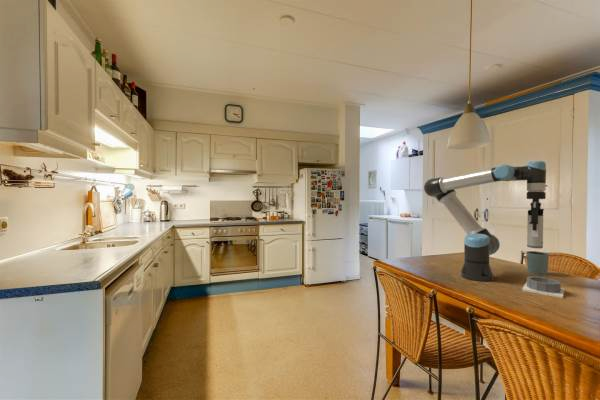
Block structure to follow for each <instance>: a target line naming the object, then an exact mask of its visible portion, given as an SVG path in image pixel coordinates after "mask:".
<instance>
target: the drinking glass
mask: <svg viewBox="0 0 600 400" xmlns="http://www.w3.org/2000/svg"><path fill="white" fill-rule="evenodd" d="M525 252H526V253H525V255H526V265H527V273H528V274H531V275H536V276H547V275H548V267H549V257H550V254H549V253H548V252H544V251H538V250H537V251H535V250H529V251H525Z"/></svg>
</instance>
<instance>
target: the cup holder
mask: <svg viewBox="0 0 600 400" xmlns="http://www.w3.org/2000/svg"><path fill="white" fill-rule="evenodd" d="M561 285H562V283H561V281H559V280H557V279H554V278H550V277H544V276H543V277H542V276H532V275H531V276H527V277H526V282H525V283H524V285H523V286H522V289H521V290H522V291H523V292H529V293H532V294H533V293H534V294H539V295H544V296H548V295H549V296H550V297H555V298H559V299H564V294H565V288H562V286H561Z"/></svg>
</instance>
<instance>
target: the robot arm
mask: <svg viewBox="0 0 600 400" xmlns="http://www.w3.org/2000/svg"><path fill="white" fill-rule="evenodd" d="M546 165H547V164H546V162H545V161H542V160H538V161H537V160H533V161H528V162H527V163H526V165H523V166H522V165H521V166H513V165H509V164H500V165H498V166H495V167H490V168H486V169H482V170H481V169H480V170H478V171H477V170H476V171H473V172H472V171H471V172H468V173H467V172H466V173H463V174H458V175H454V176H448V177H443V176H441V177H440V176H439V177H436V178H431V179H428V180H427V181H425V183H424V186H423V190H424V192H425V194H426V195H427V196H429V197H430V198H431V197H432V198H435V199H436V200H437V201H438V203H439V204H443V205H444V206H445V208H446V209H447V210H448V211H449V213H450V214H451V215H452V217H453V218H454V219H455V220H456V222H457V223H458V225H459V226H460V227H461V228H462V230H463V231H464V232H465V233H466V235H465V236H464V239H463V243H464V249H463V250H464V256H463V257H464V260H463V265H462V266H461V270H460V276H461V277H462V278H464V279H468V280H472V281H476V282H477V281H478V282H491V281H493V280H494V274H493V271H492V268H491V264H490V256H491V255H494V254H496V253H497V252H498V251H499V249H500V244H501V243H500V241H499V239H498V237H497V236H495V235H494V234H492V233H490V231H489V230H488V229H487V228H486V227H482V226H481V225H480V224H479V223H478V221H477V220H476V219H475V217H474V216H473V215H472V213H471V212H470V211H469V210H468V209H467V208H466V206H465V205H464V203H462V202H461V200H460V199H459V198H458V196H457V192H456V190H459V189H463V188H469V187H474V186H479V185H486V184H490V183H496V182H514V181H515V182H516V181H526V191H527V192H526V199H527V200H532V202H530V210H531V222H530V224H531V237H538V211H539V210H540V209H542V208H541V207H542V202H540V200H545V199H547V198H546V196H547V194H546V192H545V191H546V189H547V187H548V185H547V184H546V181H547V180H546V179H547V166H546Z"/></svg>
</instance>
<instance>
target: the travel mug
mask: <svg viewBox="0 0 600 400" xmlns="http://www.w3.org/2000/svg"><path fill="white" fill-rule="evenodd" d="M544 211H545V209H544V208H541V209H540V210H539V211H538V237H531V224H530V222H531V209H528V210H527V225H526V226H527V229H526V232H527V233H526V234H527V236H526V246H527V248H530V249H543V248H544Z"/></svg>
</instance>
